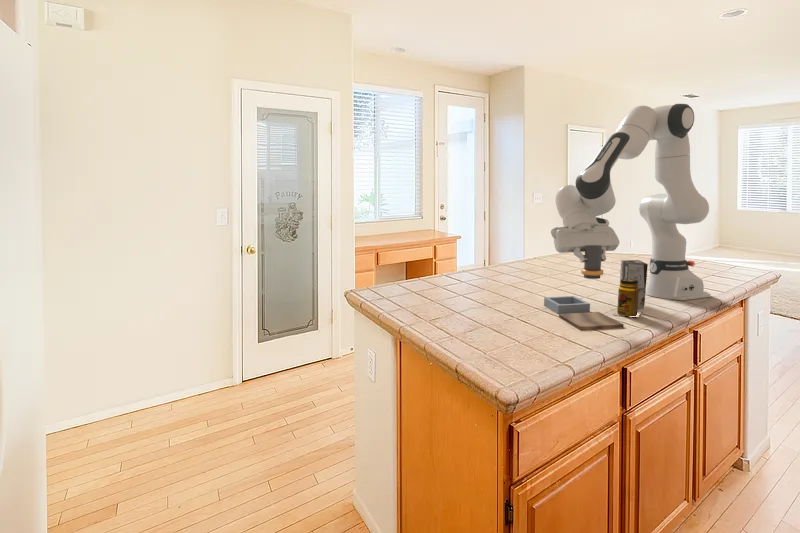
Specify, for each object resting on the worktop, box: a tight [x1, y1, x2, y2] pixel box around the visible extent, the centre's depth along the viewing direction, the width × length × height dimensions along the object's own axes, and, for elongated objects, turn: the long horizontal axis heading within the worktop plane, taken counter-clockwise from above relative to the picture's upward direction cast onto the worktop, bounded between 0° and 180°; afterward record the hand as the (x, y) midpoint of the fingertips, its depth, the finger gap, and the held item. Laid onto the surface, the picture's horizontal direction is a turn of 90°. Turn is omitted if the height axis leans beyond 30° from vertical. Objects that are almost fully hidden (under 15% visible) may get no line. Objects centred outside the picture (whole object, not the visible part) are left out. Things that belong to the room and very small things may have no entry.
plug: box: [580, 245, 604, 280], centre depth 138 cm, size 6×6×10 cm
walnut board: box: [558, 311, 625, 331], centre depth 142 cm, size 14×14×1 cm
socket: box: [543, 295, 591, 315], centre depth 157 cm, size 11×11×3 cm
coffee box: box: [619, 259, 649, 310], centre depth 158 cm, size 9×6×16 cm
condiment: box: [613, 279, 644, 317], centre depth 148 cm, size 7×8×12 cm
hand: (593, 260), depth 138 cm, fingers closed on plug, 5 cm apart
